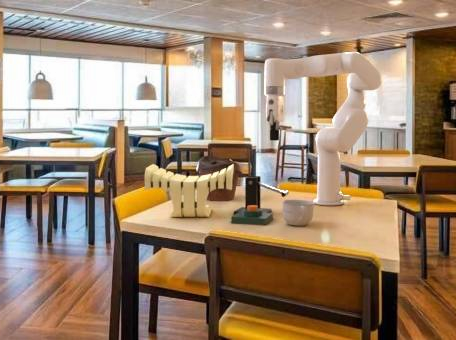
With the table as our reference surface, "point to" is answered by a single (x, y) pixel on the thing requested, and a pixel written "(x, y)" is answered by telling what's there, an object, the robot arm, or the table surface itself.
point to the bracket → (252, 194)
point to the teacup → (298, 212)
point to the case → (217, 164)
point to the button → (252, 208)
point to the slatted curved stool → (188, 189)
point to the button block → (252, 217)
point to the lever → (273, 189)
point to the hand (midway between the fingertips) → (274, 140)
